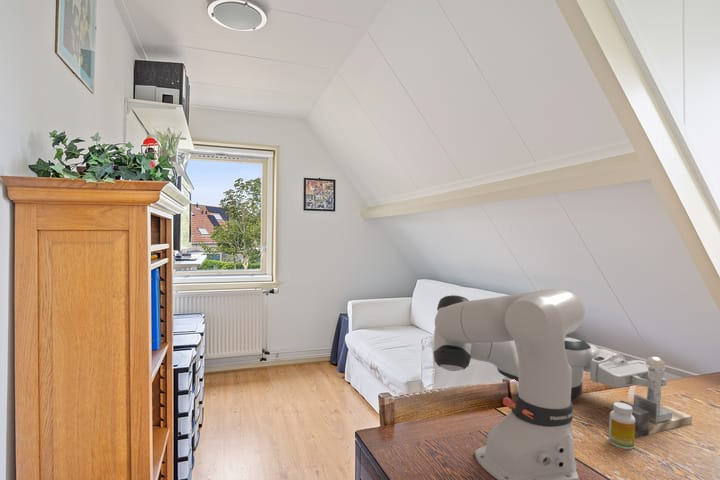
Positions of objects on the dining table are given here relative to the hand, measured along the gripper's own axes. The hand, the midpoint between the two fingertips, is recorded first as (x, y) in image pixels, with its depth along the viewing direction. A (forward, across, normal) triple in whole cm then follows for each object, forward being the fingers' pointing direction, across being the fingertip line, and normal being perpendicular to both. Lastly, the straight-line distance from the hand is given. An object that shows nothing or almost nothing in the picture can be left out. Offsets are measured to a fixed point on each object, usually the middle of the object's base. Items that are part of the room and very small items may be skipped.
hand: (659, 384), depth 108 cm
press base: (-1, 0, -12) cm, 12 cm away
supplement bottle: (+3, +18, -12) cm, 22 cm away
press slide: (-1, 0, -9) cm, 9 cm away
